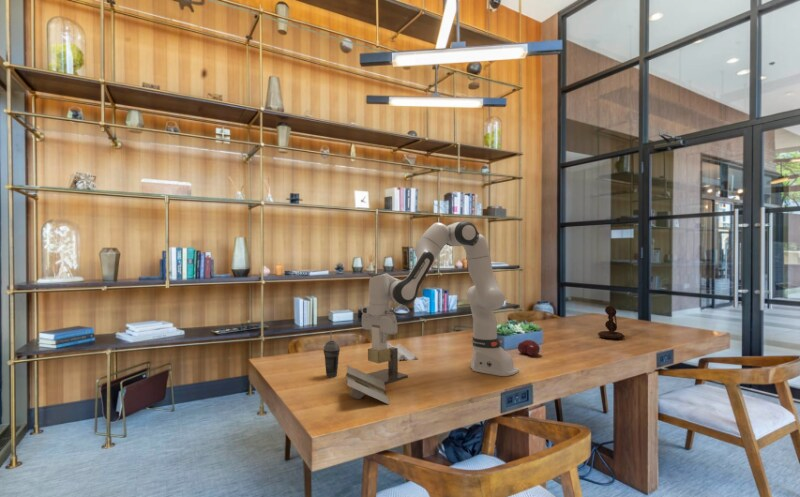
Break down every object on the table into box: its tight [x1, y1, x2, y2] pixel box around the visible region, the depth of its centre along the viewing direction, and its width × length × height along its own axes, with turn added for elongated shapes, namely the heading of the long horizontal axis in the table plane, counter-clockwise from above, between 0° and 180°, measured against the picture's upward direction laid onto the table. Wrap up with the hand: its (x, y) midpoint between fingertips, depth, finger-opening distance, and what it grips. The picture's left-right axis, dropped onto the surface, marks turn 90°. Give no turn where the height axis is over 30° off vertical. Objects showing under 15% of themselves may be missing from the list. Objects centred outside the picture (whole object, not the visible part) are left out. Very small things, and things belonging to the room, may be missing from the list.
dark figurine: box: [597, 305, 625, 341], centre depth 254 cm, size 15×15×20 cm
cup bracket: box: [367, 347, 409, 386], centre depth 175 cm, size 14×16×13 cm
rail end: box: [371, 325, 388, 351], centre depth 173 cm, size 5×5×13 cm
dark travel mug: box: [322, 330, 340, 379], centre depth 177 cm, size 7×7×20 cm
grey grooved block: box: [345, 365, 391, 405], centre depth 151 cm, size 19×10×17 cm
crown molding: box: [387, 341, 419, 362], centre depth 218 cm, size 31×12×4 cm, turn 16°
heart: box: [517, 339, 541, 357], centre depth 213 cm, size 12×8×10 cm
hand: (379, 341), depth 173 cm, fingers closed on rail end, 4 cm apart
